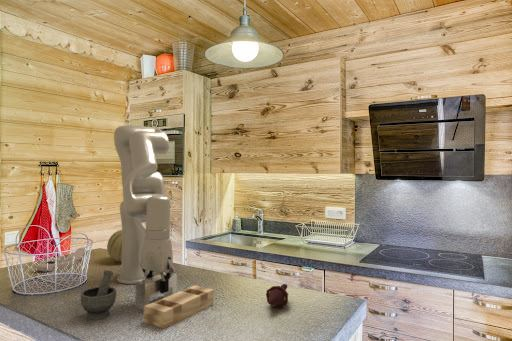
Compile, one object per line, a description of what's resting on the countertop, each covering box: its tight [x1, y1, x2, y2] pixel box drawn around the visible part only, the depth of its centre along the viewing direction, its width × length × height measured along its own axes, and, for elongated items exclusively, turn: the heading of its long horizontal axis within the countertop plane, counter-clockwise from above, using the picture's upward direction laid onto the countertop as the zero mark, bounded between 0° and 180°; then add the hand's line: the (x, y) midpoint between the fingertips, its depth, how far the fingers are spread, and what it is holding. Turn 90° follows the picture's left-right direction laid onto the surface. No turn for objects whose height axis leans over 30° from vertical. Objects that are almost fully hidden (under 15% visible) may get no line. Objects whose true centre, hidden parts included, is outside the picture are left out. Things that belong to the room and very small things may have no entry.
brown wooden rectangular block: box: [143, 284, 215, 329], centre depth 112 cm, size 8×22×4 cm, turn 150°
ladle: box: [31, 247, 86, 273], centre depth 161 cm, size 6×6×25 cm
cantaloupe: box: [106, 229, 122, 263], centre depth 170 cm, size 15×15×15 cm
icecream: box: [265, 283, 289, 310], centre depth 117 cm, size 7×7×15 cm
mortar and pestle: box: [80, 270, 117, 321], centre depth 109 cm, size 11×9×12 cm
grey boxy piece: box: [135, 272, 178, 311], centre depth 120 cm, size 4×14×8 cm, turn 150°
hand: (157, 289), depth 120 cm, fingers open, 5 cm apart
